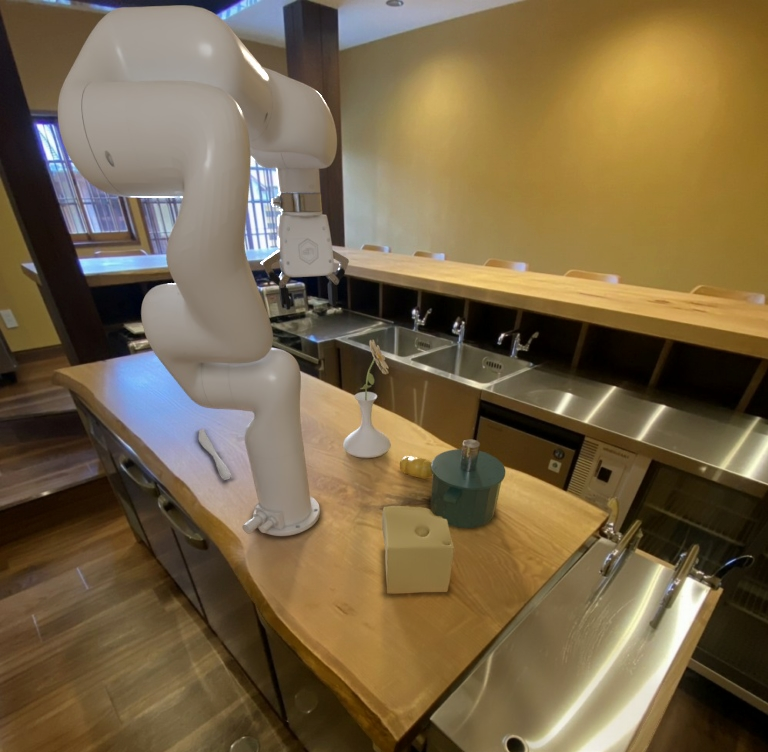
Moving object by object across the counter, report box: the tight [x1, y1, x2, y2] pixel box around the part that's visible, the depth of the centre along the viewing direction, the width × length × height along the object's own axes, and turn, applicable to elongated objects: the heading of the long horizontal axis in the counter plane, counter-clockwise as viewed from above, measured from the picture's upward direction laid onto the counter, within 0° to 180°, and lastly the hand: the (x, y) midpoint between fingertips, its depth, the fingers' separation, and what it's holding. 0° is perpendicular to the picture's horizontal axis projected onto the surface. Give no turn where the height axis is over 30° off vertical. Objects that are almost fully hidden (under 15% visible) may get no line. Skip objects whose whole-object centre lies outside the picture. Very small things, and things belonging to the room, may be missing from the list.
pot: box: [429, 450, 502, 529], centre depth 82 cm, size 13×18×9 cm
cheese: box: [381, 505, 455, 595], centre depth 67 cm, size 10×11×10 cm
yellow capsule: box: [399, 455, 433, 480], centre depth 92 cm, size 8×4×4 cm, turn 62°
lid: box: [431, 439, 506, 490], centre depth 77 cm, size 14×14×6 cm
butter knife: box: [198, 428, 232, 481], centre depth 100 cm, size 1×27×3 cm
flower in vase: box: [342, 339, 392, 459], centre depth 95 cm, size 13×11×25 cm
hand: (310, 306), depth 88 cm, fingers open, 9 cm apart
